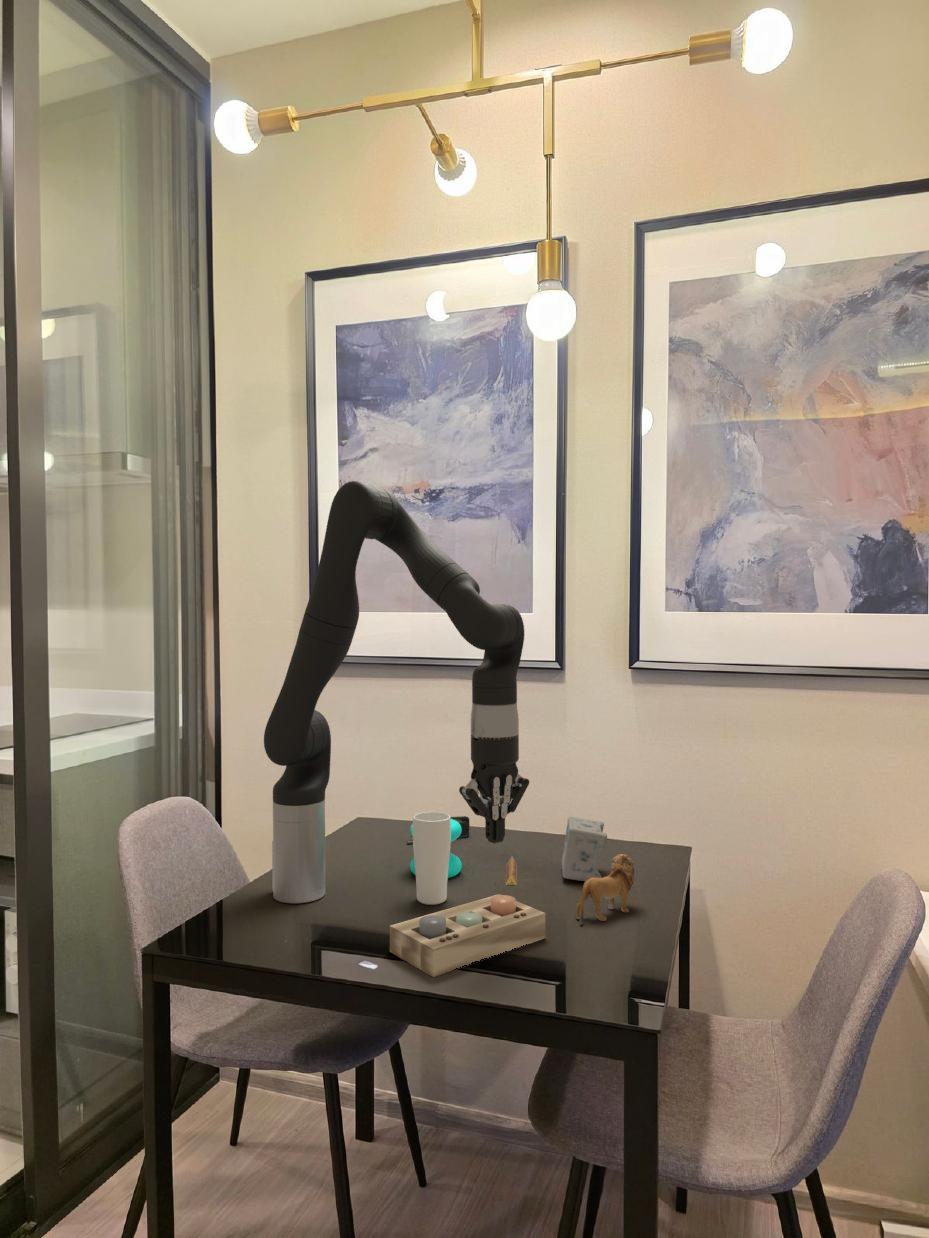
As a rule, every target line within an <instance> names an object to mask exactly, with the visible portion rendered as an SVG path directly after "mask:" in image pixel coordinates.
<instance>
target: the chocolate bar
mask: <svg viewBox="0 0 929 1238" xmlns="http://www.w3.org/2000/svg"><path fill="white" fill-rule="evenodd" d="M505 870H506V871H505V882H504V884H505V883H506V884H505V886H517V881H518V880H517V878H518V876H517V875H518V864H517V862H516V860H515V859H514V856H511V857H510V858H509V860H508V862H507V863H506V869H505Z"/></svg>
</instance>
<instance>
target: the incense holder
mask: <svg viewBox="0 0 929 1238" xmlns="http://www.w3.org/2000/svg"><path fill="white" fill-rule="evenodd" d="M566 824H567V825H566V831H565V836H564V837H565V838H564V843H563V849H562V855H561V860H560V862H561V863H560V864H561V874H562V878H564V879H567V880H574V881H581V882H586V881H587V880H588V879H590V878H603V877H602V875H601V873H600V872H599V862H600V856H601V855H600V854H601V850H603V849H605V848H606V847H607V843H608V835H607V832H606V833H605V832H604V828H605V827H604V826H605V823H604V821H597V820H594V819H591V820H590V819H586V818H580V817H574V816H568V818H567V823H566Z"/></svg>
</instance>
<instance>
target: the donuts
mask: <svg viewBox="0 0 929 1238" xmlns="http://www.w3.org/2000/svg"><path fill="white" fill-rule="evenodd" d="M409 831H410V836H411V835H412V836H411V838H412V837H413V824H411V825H410V828H409ZM461 832H462V828H461V825H460V824H459V823H458V822H457V821H455V820H453V819H451V843H452V842H455V841H456V840H458V839H457V838H458V837H459V836H460V834H461ZM410 861H411V862H410V865H409V868H410V870H411V873H412V874H414V876H416V874H415V861H414V857H413V858H412V860H410ZM462 866H463V865H462V861H461V860H460V858H459V856H457V855H456V854H454V853H452V852H450V856H449V868H448V879H451V878H453V877H455V876H457V875H458V874H459V873H460V872H461V870H462Z"/></svg>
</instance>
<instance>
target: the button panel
mask: <svg viewBox="0 0 929 1238" xmlns="http://www.w3.org/2000/svg"><path fill="white" fill-rule="evenodd" d="M498 895H501V893H498V894H494V895H492V896H488V897H485V898H481V899H478V900H473V901H471V902H467V903H464V904H460V905H457V906H453V907H450V908H447V909H443V910H439V911H436V912H433V913H428V914H425V915H422V916H419V917H415V918H412V919H408V920H405V921H401V922H398V923H395V924H390V925H389V953H391V954H393V955H395V956H396V957H398V958H400V959H401V960H403V961H404V962H406V961H407V963H408V964H409V965H412V966H413V967H415V968H417V969H418V968H419V970H420V971H421V972H424V973H425V972H426V973H425V974H427V975H429V976H431V977H432V978H435V977H438V976H441V975H444V974H447V973H449V972H453V971H455V970H454V969H456V968H458V969H461V968H463V967H462V966H464V965H467V966H470V965H472V964H471V963H472V962H475V961H479V962H481V961H482V960H481V959H484V958H487V959H490V958H492V957H491V956H493V957H495V956H494V955H496V956H498V954H499V955H501V954H504V953H506V952H505V951H507V952H509V951H512V949H513V950H515V949H514V948H516V949H518V948H522V947H524V946H527V945H529V944H530V945H531V944H533V943H535V942H538V941H542V940H545V939H546V912H543V911H541V910H539V909H537V908H534V907H532V906H529V905H527V904H524V903H523V902H519V901H518V900H516V913H512V914H509V915H506V916H503V917H501V916H499V915H497V914H494V913H492V912H491V898H492V897H494V896H498ZM467 912H472V913H477V914H480V915H481V916H482V923H480V924H477V925H474V926H471V927H468V928H466V927H464V926H462V925H460V924H458V923H456V916H457V915H458V914H461V913H467ZM430 915H436V916H442V917H444V918H445V919H446V934H445V935H442V936H439V937H436V938H433V939H428V938H426V937H424V936H422V935H420V934H419V920H420V919H421V918H422V917H425V916H430ZM526 944H527V945H526ZM523 945H524V946H523ZM521 946H522V947H521ZM503 952H504V953H503ZM500 953H501V954H500ZM489 957H490V958H489ZM480 960H481V961H480ZM484 960H485V959H484ZM469 964H470V965H469ZM460 967H461V968H460ZM464 967H465V966H464ZM452 970H453V971H452ZM456 970H457V969H456ZM446 972H447V973H446Z"/></svg>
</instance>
